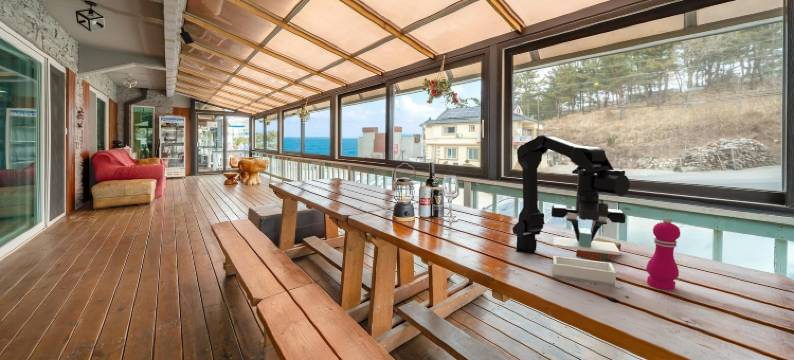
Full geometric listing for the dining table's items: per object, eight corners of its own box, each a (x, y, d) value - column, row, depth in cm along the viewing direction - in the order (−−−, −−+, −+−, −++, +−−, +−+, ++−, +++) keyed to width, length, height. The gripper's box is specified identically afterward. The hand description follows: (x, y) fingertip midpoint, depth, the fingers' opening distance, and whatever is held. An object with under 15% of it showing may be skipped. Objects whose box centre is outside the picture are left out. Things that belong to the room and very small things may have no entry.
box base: (552, 276, 100) (553, 264, 99) (552, 267, 107) (553, 255, 106) (615, 286, 93) (616, 272, 92) (610, 275, 100) (611, 263, 100)
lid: (553, 246, 98) (554, 231, 98) (552, 238, 106) (553, 224, 105) (619, 255, 91) (621, 238, 91) (613, 245, 99) (615, 230, 99)
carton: (620, 254, 120) (621, 243, 119) (600, 264, 110) (601, 252, 110) (596, 247, 126) (597, 237, 126) (575, 256, 117) (576, 245, 117)
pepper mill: (679, 293, 89) (687, 221, 86) (646, 287, 92) (653, 218, 90) (674, 283, 95) (682, 216, 92) (643, 278, 98) (649, 213, 96)
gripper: (553, 192, 93) (550, 245, 95) (632, 197, 85) (627, 254, 87) (552, 187, 103) (549, 234, 105) (623, 190, 95) (618, 242, 97)
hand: (584, 241), depth 99 cm, fingers closed on lid, 3 cm apart
